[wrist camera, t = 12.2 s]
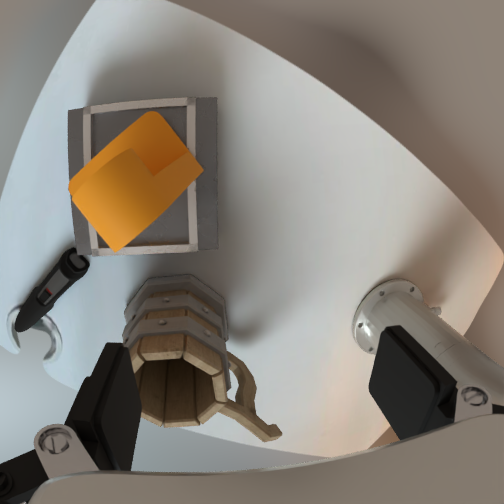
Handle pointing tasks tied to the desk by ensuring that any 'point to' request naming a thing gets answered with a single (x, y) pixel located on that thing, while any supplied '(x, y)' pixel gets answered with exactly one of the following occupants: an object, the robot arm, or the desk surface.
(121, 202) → the bracket
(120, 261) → the desk surface
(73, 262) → the electric trimmer
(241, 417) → the tankard
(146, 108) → the grey square tray
